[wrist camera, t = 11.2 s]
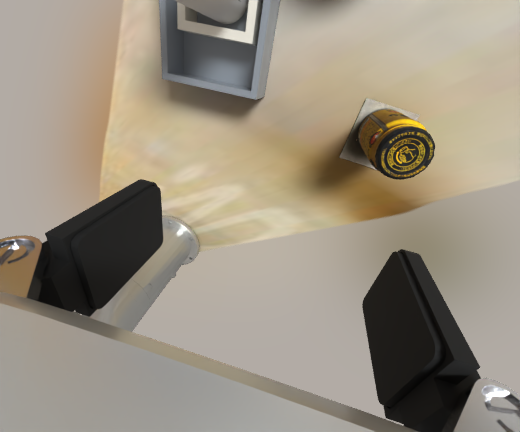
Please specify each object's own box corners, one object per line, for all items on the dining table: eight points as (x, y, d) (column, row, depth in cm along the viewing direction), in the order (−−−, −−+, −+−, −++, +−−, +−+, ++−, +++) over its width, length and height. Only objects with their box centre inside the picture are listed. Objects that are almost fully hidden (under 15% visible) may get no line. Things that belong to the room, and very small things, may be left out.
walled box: (264, 96, 35) (256, 99, 31) (181, 78, 36) (162, 78, 32) (290, -64, 26) (284, -90, 22) (180, -80, 27) (154, -108, 23)
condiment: (419, 114, 32) (464, 133, 22) (385, 172, 36) (408, 209, 26) (366, 97, 32) (386, 108, 22) (339, 156, 37) (344, 187, 27)
